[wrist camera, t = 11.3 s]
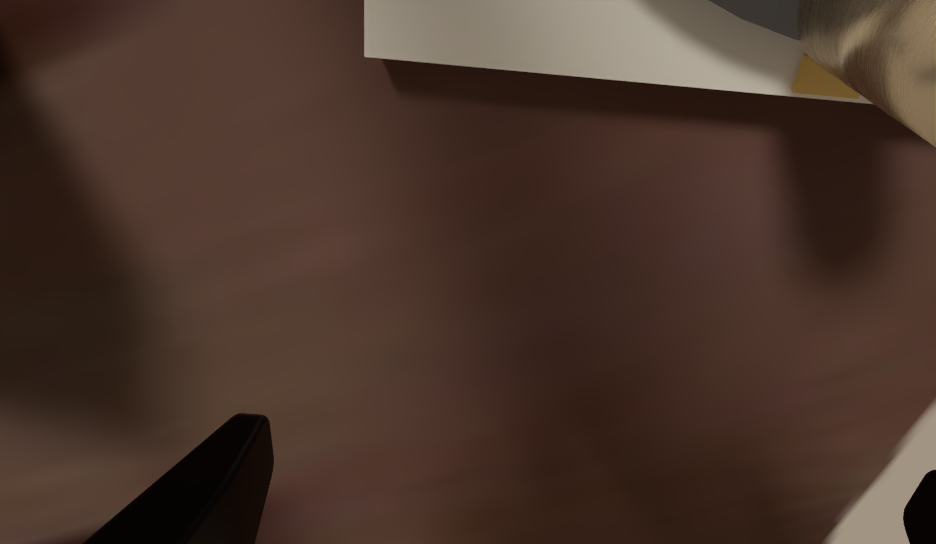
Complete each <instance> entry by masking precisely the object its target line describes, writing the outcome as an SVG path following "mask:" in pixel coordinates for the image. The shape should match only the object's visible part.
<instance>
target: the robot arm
mask: <svg viewBox="0 0 936 544" xmlns="http://www.w3.org/2000/svg"><path fill="white" fill-rule="evenodd" d="M273 464H274V455H273V447H272V438H271V430H270V423H269V420H268V418H267V417H266V416H264V415H258V414H245V413H239V414H236V415H234V416H233V417H232V418H230V419H229V420H228V421H227V422H226V423H224V424H223V425H222V426H221V427H220V428H219V429H217V430H216V431H215V432H214V433H213V434H211V435H210V436H209V437H208V438H207V439H205V440H204V441H203V442H202V443H201V444H200V445H198V446H197V447H196V448H195V449H194V450H192V451H191V452H190V453H189V454H188V455H187V456H185V457H184V458H183V459H182V460H181V461H179V462H178V463H177V464H176V465H175V466H173V467H172V468H171V469H170V470H169V471H168V472H166V473H165V474H164V475H163V476H162V477H160V478H159V479H158V480H157V481H156V482H155V483H153V484H152V485H151V486H150V487H149V488H147V489H146V490H145V491H144V492H143V493H141V494H140V495H139V496H138V497H137V498H136V499H134V500H133V501H132V502H131V503H130V504H128V505H127V506H126V507H125V508H124V509H123V510H121V511H120V512H119V513H118V514H117V515H115V516H114V517H113V518H112V519H111V520H110V521H108V522H107V523H106V524H105V525H104V526H102V527H101V528H100V529H99V530H98V531H96V532H95V533H94V534H93V535H92V536H91V537H89V538H88V539H87V540H86V541H85V542H83V543H82V544H255V541H256V537H257V533H258V529H259V525H260V521H261V517H262V513H263V509H264V505H265V501H266V497H267V493H268V489H269V485H270V481H271V477H272V472H273ZM903 520H904V526H905V530H906V533H907V536H908V539H909V542H910V544H936V470H932V471H930V472H928V473H927V474H926V475H925V476H924V478H923V479H922V481H921V482H920V484H919V486H918V487H917V489H916V491H915V492H914V494H913V495H912V497H911V499H910V500H909V502H908V503H907V505H906V507H905V509H904V516H903Z"/></svg>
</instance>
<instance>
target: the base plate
mask: <svg viewBox="0 0 936 544" xmlns="http://www.w3.org/2000/svg"><path fill="white" fill-rule="evenodd" d="M364 57H371V58H382V59H393V60H404V61H414V62H425V63H436V64H447V65H457V66H468V67H479V68H490V69H501V70H511V71H522V72H533V73H544V74H554V75H565V76H576V77H587V78H597V79H608V80H619V81H630V82H640V83H651V84H662V85H673V86H684V87H694V88H705V89H716V90H727V91H737V92H748V93H759V94H770V95H780V96H791V97H802V98H813V99H824V100H834V101H845V102H856V103H867V104H873V103H871V102H870V101H869V100H867V99H866V98H864V97H863V96H861V95H860V94H859V93H857V92H856V91H854V90H853V89H851V88H850V87H848V86H847V85H846V84H844V83H843V82H841V81H840V80H838V79H837V78H836V77H834V76H833V75H831V74H830V73H828V72H827V71H826V70H824V69H823V68H821V67H820V66H818V65H817V64H816V63H815V62H814V61H812V60H811V58H810V57H809V56H808V55H807V53H806V52H805V50H804V49H803V46H802V44H801V42H800V41H799V40H795V39H792V38H790V37H787V36H784V35H782V34H779V33H777V32H774V31H771V30H769V29H766V28H763V27H761V26H758V25H756V24H753V23H750V22H748V21H745V20H743V19H741V18H739V17H737V16H735V15H734V14H732V13H730V12H728V11H727V10H725V9H723V8H721V7H720V6H718V5H716V4H714V3H713V2H711V1H709V0H364Z"/></svg>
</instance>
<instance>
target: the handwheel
mask: <svg viewBox="0 0 936 544" xmlns="http://www.w3.org/2000/svg"><path fill="white" fill-rule="evenodd" d="M709 1H711V2H713V3H714V4H716V5H718V6H720V7H721V8H723V9H725V10H727V11H728V12H730V13H732V14H734V15H735V16H737V17H739V18H741V19H743V20H745V21H748V22H750V23H753V24H756V25H758V26H761V27H763V28H766V29H769V30H771V31H774V32H777V33H779V34H782V35H784V36H787V37H790V38H792V39H795V40H799V41H800V42H801V44H802V46H803V49H804V50H805V52H806V53H807V55H808V56H809V57H810V58H811V60H812V61H814V62H815V63H816V64H817V65H818V66H820V67H821V68H823V69H824V70H826V71H827V72H828V73H830V74H831V75H833V76H834V77H836V78H837V79H838V80H840V81H841V82H843V83H844V84H846V85H847V86H848V87H850V88H851V89H853V90H854V91H856V92H857V93H859V94H860V95H861V96H863V97H864V98H866V99H867V100H869V101H870V102H871V103H873V104H874V105H876V106H877V107H879V108H880V109H881V110H883V111H884V112H886V113H887V114H889V115H890V116H891V117H893V118H894V119H896V120H897V121H899V122H900V123H902V124H903V125H904V126H906V127H907V128H909V129H910V130H912V131H913V132H914V133H916V134H917V135H919V136H920V137H922V138H923V139H924V140H926V141H927V142H929V143H930V144H932V145H933V146H935V147H936V0H709Z"/></svg>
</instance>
